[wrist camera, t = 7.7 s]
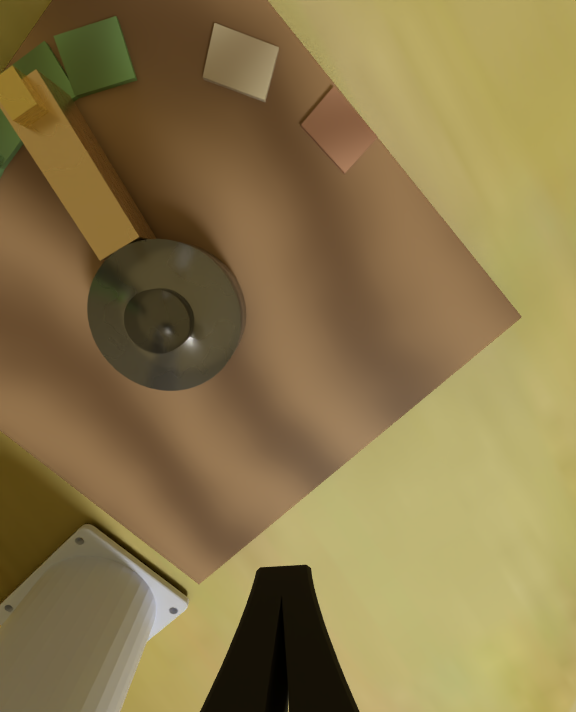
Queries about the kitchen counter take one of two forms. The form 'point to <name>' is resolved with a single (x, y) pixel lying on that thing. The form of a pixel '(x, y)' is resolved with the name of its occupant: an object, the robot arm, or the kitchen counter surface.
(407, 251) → the brown flat square slab
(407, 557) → the kitchen counter surface
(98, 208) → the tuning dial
